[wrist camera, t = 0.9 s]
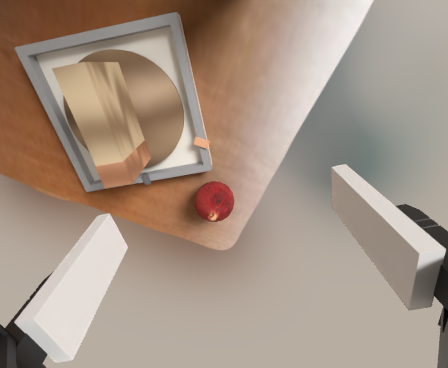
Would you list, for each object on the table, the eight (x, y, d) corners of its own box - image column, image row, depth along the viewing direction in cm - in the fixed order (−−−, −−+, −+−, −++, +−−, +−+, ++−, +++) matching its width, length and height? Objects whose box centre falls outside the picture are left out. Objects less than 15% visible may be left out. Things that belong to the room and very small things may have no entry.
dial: (45, 63, 29) (-23, 63, 21) (165, 37, 28) (143, 27, 20) (96, 174, 36) (60, 207, 28) (195, 157, 35) (188, 185, 27)
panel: (30, 48, 30) (11, 47, 27) (185, 14, 28) (181, 9, 26) (95, 185, 38) (85, 195, 36) (216, 164, 37) (216, 172, 34)
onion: (207, 167, 37) (203, 191, 30) (239, 183, 38) (243, 210, 31) (190, 196, 39) (184, 225, 32) (221, 210, 41) (222, 241, 33)
